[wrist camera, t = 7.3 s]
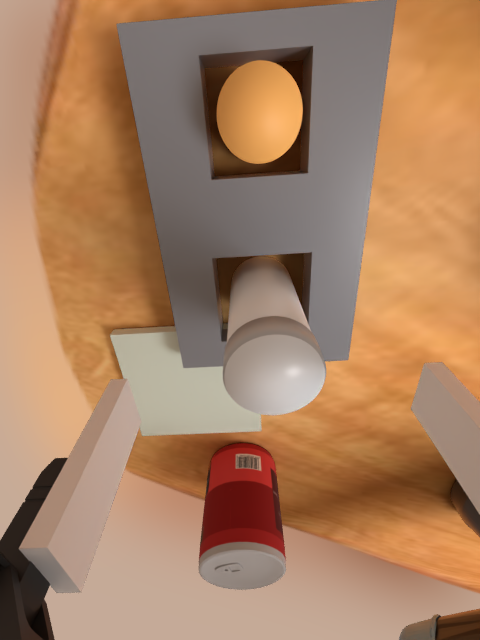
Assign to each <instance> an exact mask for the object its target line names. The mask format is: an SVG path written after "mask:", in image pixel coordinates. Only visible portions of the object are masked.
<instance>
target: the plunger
mask: <svg viewBox="0 0 480 640" xmlns="http://www.w3.org/2000/svg"><path fill="white" fill-rule="evenodd" d="M302 115H303V105H302V98H301V94H300V91H299V88H298V86H297V84H296V82H295V80H294V79H293V77H292V76H291V75H290V74H289V73H288V72H287V71H286V70H285V69H284V68H283V67H281V66H280V65H278V64H276V63H273V62H270V61H265V60H257V61H252V62H249V63H246V64H244V65H242V66H240V67H239V68H238V69H236V70H235V71H234V72H233V73H232V74H231V75H230V76H229V78H228V79H227V80H226V82H225V84H224V85H223V87H222V90H221V92H220V95H219V98H218V103H217V124H218V129H219V132H220V135H221V137H222V139H223V141H224V143H225V145H226V146H227V148H228V149H229V150H230V151H231V152H232V153H233V154H234V155H235V156H237V157H238V158H240V159H241V160H244V161H246V162H249V163H255V164H262V163H267V162H271V161H273V160H275V159H277V158H279V157H280V156H282V155H283V154H284V153H285V152H286V151H287V150H288V149H289V148H290V147H291V145H292V144H293V143H294V141H295V139H296V137H297V135H298V133H299V130H300V127H301V122H302Z"/></svg>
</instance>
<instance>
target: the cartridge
mask: <svg viewBox="0 0 480 640" xmlns="http://www.w3.org/2000/svg"><path fill="white" fill-rule="evenodd" d="M325 377H326V365H325V361H324V358H323V356H322V353H321V351H320V348H319V345H318V343H317V340H316V338H315V337H314V335H313V334H312V332H311V330H310V327H309V325H308V322H307V319H306V317H305V314H304V312H303V309H302V306H301V304H300V301H299V298H298V296H297V293H296V291H295V288H294V285H293V283H292V280H291V278H290V275H289V272H288V270H287V269H286V267H285V266H284V265H283V264H282V263H281V262H279V261H278V260H276V259H274V258H271V257H267V256H257V257H252V258H250V259H248V260H246V261H244V262H243V263H241V264H240V265H239V266H238V267H237V269H236V270H235V272H234V274H233V276H232V281H231V293H230V306H229V320H228V333H227V344H226V347H225V352H224V362H223V383H224V386H225V389H226V391H227V392H228V394H229V395H230V396H231V398H232V399H233V400H234V401H235V402H236V403H237V404H238V405H240V406H241V407H243V408H245V409H246V410H249V411H251V412H254V413H258V414H263V415H281V414H287V413H290V412H294V411H296V410H299V409H300V408H302V407H304V406H306V405H307V404H309V403H310V402H311V401H312V400H313V399H314V398H315V397H316V396H317V395H318V393H319V392H320V390H321V388H322V386H323V384H324V381H325Z"/></svg>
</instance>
